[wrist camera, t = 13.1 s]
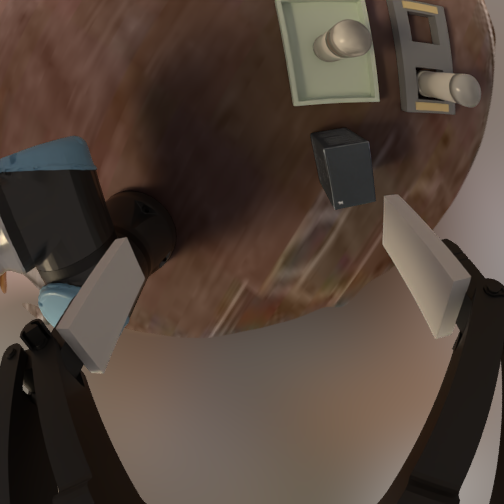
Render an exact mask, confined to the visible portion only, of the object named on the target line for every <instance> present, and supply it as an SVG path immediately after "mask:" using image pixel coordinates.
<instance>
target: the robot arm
mask: <svg viewBox="0 0 504 504" xmlns="http://www.w3.org/2000/svg"><path fill="white" fill-rule="evenodd" d="M96 170H97V168H96V166H95V165H94V163H93V161H92V158H91V155H90V152H89V149H88V146H87V143H86V142H85V141H84V139H82V138H81V137H78V136H70V137H65V138H61V139H57V140H53V141H50V142H46V143H43V144H40V145H37V146H34V147H31V148H28V149H25V150H22V151H19V152H17V153H14V154H12V155H9V156H6V157H4V158H1V159H0V275H2V274H3V273H4V272H6V271H13V272H17V273H20V274H26V273H27V272H29V271H30V270H32V269H33V268H34V267H36V268H37V270H38V272H39V274H40V276H41V278H42V279H43V281H44V283H45V285H44V286H43V287H42V288H41V290H40V294H39V297H38V298H39V302H38V304H39V308H40V310H41V312H42V314H43V315H44V317H45V318H46V319H47V321H48V322H49V323H50V324H51V325H52V326H53V327H54V329H53V331H52V332H50V331H49V330H48V328H47V327H46V326H45V324H44V323H43V321H42V320H41V319H35V320H32V321H31V322H29V323H28V324H27V325H26V326H25V327H24V328H23V330H22V331H21V334H20V338H21V339H22V340H23V341H24V343H25V344H26V345H27V346H28V348H29V349H28V350H24V349H23V348H22V347H21V345H20V344H18V343H16V344H13V345H11V346H9V347H8V348H7V349H6V351H5V353H4V355H3V357H2V361H1V365H0V504H146V503H145V502H144V501H143V500H142V498H141V497H140V496H139V494H138V492H137V490H136V489H135V487H134V485H133V483H132V482H131V480H130V478H129V476H128V474H127V473H126V471H125V469H124V467H123V465H122V463H121V461H120V459H119V457H118V455H117V453H116V451H115V449H114V447H113V445H112V442H111V440H110V438H109V436H108V434H107V431H106V429H105V427H104V424H103V422H102V420H101V417H100V415H99V412H98V410H97V407H96V405H95V402H94V400H93V397H92V394H91V391H90V388H89V386H88V382H87V380H86V377H85V375H84V373H83V372H82V371H81V368H82V366H83V364H84V365H85V366H86V367H87V369H88V370H89V371H90V372H91V373H104V372H105V369H106V367H107V364H108V362H109V359H110V356H111V354H112V352H113V349H114V347H115V345H116V342H117V340H118V338H119V336H120V335H121V332H122V331H123V329H124V327H125V326H126V325H127V324H128V322H129V318H130V316H131V314H132V312H133V309H134V307H135V305H136V303H137V300H138V298H139V296H140V294H141V291H142V289H143V287H144V285H145V283H146V281H147V279H148V277H149V276H150V275H151V274H153V273H154V272H155V271H157V270H158V269H159V268H161V267H162V266H163V265H164V264H165V263H166V262H167V261H168V259H169V258H170V256H171V254H172V252H173V249H174V247H175V243H176V230H175V226H174V223H173V220H172V218H171V216H170V215H169V213H168V212H167V210H166V209H165V208H164V207H163V206H162V205H161V204H160V203H159V202H158V201H157V200H155V199H154V198H152V197H150V196H148V195H146V194H143V193H140V192H134V191H126V192H121V193H118V194H115V195H113V196H112V197H110V198H109V199H108V200H107V201H106V202H105V199H104V196H103V193H102V189H101V186H100V183H99V179H98V176H97V172H96ZM383 246H384V247H385V249H386V251H387V252H388V254H389V256H390V257H391V259H392V261H393V262H394V264H395V266H396V267H397V269H398V271H399V272H400V274H401V276H402V277H403V279H404V281H405V283H406V284H407V286H408V288H409V290H410V292H411V293H412V295H413V297H414V299H415V301H416V302H417V304H418V306H419V308H420V310H421V312H422V314H423V316H424V318H425V319H426V322H427V324H428V326H429V328H430V330H431V332H432V333H433V336H434V338H435V339H437V338H441V337H444V336H448V335H451V334H452V332H453V329H454V327H455V324H457V326H458V328H459V329H460V332H459V335H458V337H457V339H456V342H455V344H454V346H453V354H452V357H451V360H450V363H449V366H448V369H447V371H446V374H445V377H444V380H443V382H442V385H441V388H440V390H439V393H438V395H437V398H436V400H435V402H434V405H433V407H432V410H431V412H430V414H429V416H428V418H427V421H426V423H425V425H424V427H423V429H422V431H421V433H420V435H419V437H418V439H417V441H416V443H415V445H414V447H413V449H412V451H411V452H410V454H409V456H408V458H407V460H406V461H405V463H404V465H403V467H402V468H401V470H400V472H399V473H398V475H397V477H396V478H395V480H394V481H393V483H392V485H391V486H390V488H389V489H388V491H387V492H386V494H385V495H384V496H383V498H382V499H381V500H380V501H379V502H378V504H459V502H460V499H459V496H458V494H459V491H460V488H461V486H462V483H463V481H464V479H465V477H466V475H467V472H468V470H469V468H470V465H471V463H472V460H473V458H474V455H475V453H476V450H477V447H478V445H479V442H480V439H481V436H482V433H483V430H484V427H485V424H486V420H487V417H488V414H489V410H490V406H491V402H492V399H493V395H494V391H495V387H496V382H497V377H498V372H499V367H500V362H501V367H502V421H501V422H502V423H501V436H500V446H499V455H498V462H497V469H496V475H495V480H494V485H493V490H492V495H491V499H490V503H489V504H504V286H503V285H502V284H501V283H500V282H498V281H496V280H494V279H489V278H487V279H485V278H484V276H483V275H482V274H481V273H480V271H479V270H478V269H477V268H476V267H475V265H474V264H473V263H472V262H471V261H470V260H469V259H468V257H467V256H466V255H465V254H464V253H463V252H462V250H461V249H460V248H459V247H458V246H457V245H456V244H455V243H453V242H452V241H450V240H448V239H444V240H441V239H440V238H439V237H438V236H437V235H436V234H435V233H434V232H433V230H432V229H431V228H430V227H429V226H428V225H427V224H426V223H425V222H424V221H423V220H422V219H421V217H420V216H419V215H418V214H417V213H416V212H415V211H414V210H413V209H412V208H411V207H410V206H409V205H408V204H407V203H406V202H405V201H404V200H403V199H402V198H401V197H400V196H399V195H398V194H396V195H387V196H384V221H383ZM22 385H24V386H25V387H26V388H27V389H28V390H29V393H28V394H26V393H25V392H24V391H23V387H22ZM57 486H58V487H57ZM58 489H59V494H58Z"/></svg>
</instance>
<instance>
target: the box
mask: <svg viewBox="0 0 504 504" xmlns="http://www.w3.org/2000/svg"><path fill="white" fill-rule="evenodd" d="M310 136H311V141H312V146H313V151H314V156H315V160H316V165H317V170H318V175H319V180H320V183H321V185H322V187H323V189H324V190H325V192H326V194H327V196H328V198H329V200H330V202H331V204H332V206H333V207H334V209H335V210H337V209H341V208H346V207H351V206H356V205H361V204H366V203H370V202H375V201H376V198H375V187H374V178H373V170H372V162H371V154H370V147H369V142H368V141H367V140H365V139H363V138H362V137H360V136H359V135H357V134H355V133H354V132H352V131H351V130H349V129H347V128H339V129H333V130H327V131H321V132H316V133H311V134H310Z"/></svg>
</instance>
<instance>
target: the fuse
mask: <svg viewBox="0 0 504 504" xmlns="http://www.w3.org/2000/svg"><path fill="white" fill-rule="evenodd" d="M416 76H417V88H418V94H420V95H422V96H426V97H433V98H438V99H442V100H446V101H450V102H454V103H458V104H460V105H463V106H466V107H475V106H476V105H477V104H478V103H479V101H480V98H481V89H480V86H479V83H478V82H477V80H476V79H475V78H474V77H473V76H471V75H469V74H461V73H457V74H454V73H443V72H431V71H418V72H416Z"/></svg>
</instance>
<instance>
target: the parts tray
mask: <svg viewBox="0 0 504 504" xmlns="http://www.w3.org/2000/svg"><path fill="white" fill-rule="evenodd" d="M275 7H276V11H277V16H278V21H279V26H280V32H281V37H282V42H283V48H284V53H285V59H286V65H287V71H288V77H289V83H290V90H291V96H292V103H293V105H294V106H302V105H314V104H328V103H347V102H380V99H379V88H378V79H377V70H376V62H375V55H374V48H373V41H372V45H371V48H370V50H369V51H368V52H367V53H366V54H364V55H362V56H358V57H352V58H344V59H340V60H338V61H334V62H324V61H322V60H320V59H319V58H318V57H317V56H316V55H315V54H314V51H313V43H314V41H315V39H316V38H317V37H319V36H320V35H322V34H324V33H325V32H327V31H328V30H329V29H330V28H332V27H333V26H334V25H335V24H336V23H338V22H339V21H342V20H346V19H351V20H355V21H358V22H360V23H362V24H363V25H364V26H365V27H366V28H367V29H368V30H369V32H370V34H371V30H370V24H369V19H368V14H367V9H366V4H365V0H275ZM371 37H372V35H371Z"/></svg>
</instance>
